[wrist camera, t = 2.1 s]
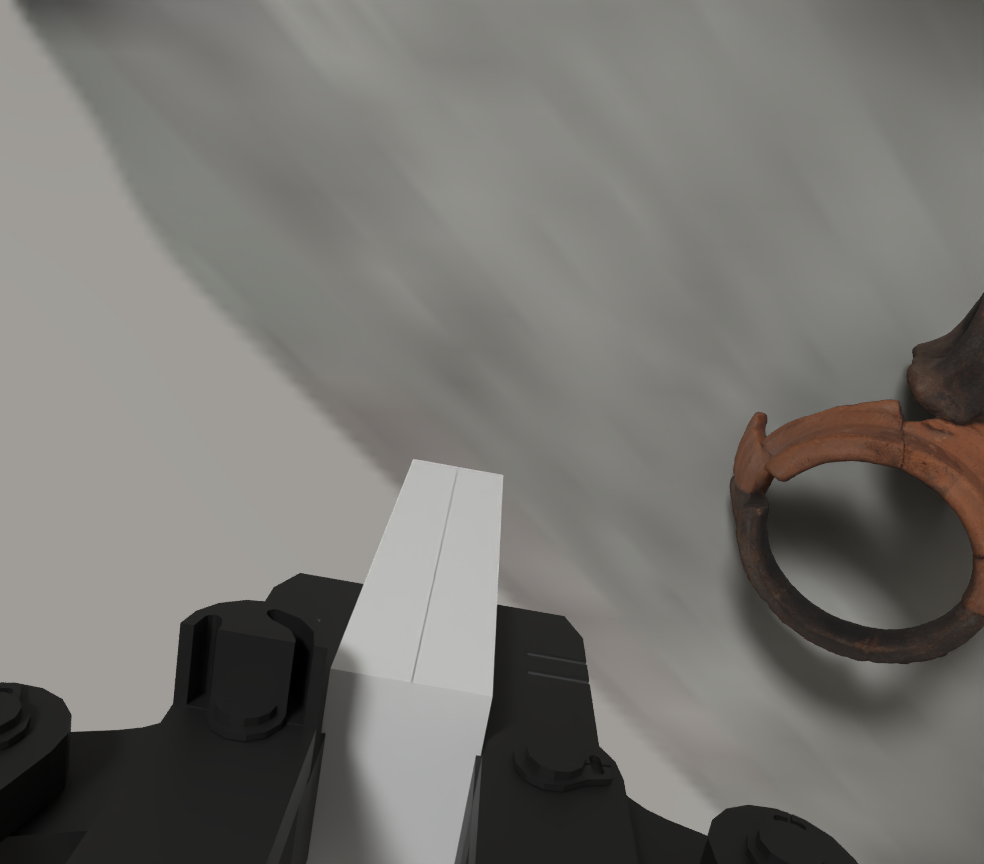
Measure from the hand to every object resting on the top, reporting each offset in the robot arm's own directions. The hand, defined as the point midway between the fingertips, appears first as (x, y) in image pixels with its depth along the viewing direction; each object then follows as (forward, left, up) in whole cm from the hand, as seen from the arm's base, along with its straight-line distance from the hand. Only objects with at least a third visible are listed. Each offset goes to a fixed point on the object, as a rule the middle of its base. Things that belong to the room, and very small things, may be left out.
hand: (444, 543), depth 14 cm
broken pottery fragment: (0, +14, -16) cm, 21 cm away
